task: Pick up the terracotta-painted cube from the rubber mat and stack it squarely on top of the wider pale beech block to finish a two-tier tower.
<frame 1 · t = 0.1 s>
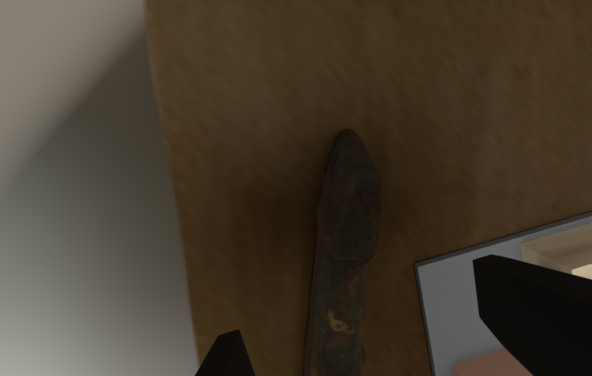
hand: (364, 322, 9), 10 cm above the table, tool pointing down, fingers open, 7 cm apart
beech block: (564, 271, 22), resting on rubber mat
hand tool: (320, 277, 21), on the table
rubber mat: (520, 316, 23), on the table
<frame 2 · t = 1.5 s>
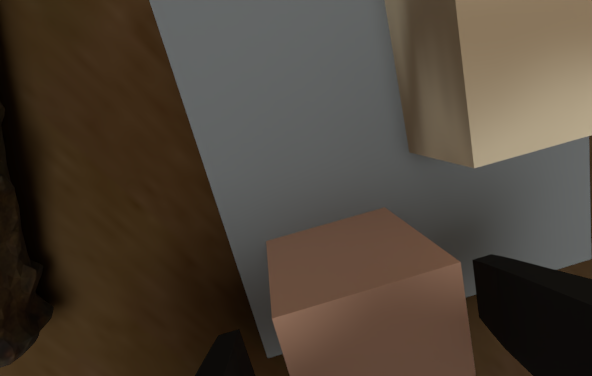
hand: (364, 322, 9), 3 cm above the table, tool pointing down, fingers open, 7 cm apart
beech block: (478, 43, 11), resting on rubber mat
terracotta cube: (339, 277, 12), resting on rubber mat
rubber mat: (403, 150, 12), on the table
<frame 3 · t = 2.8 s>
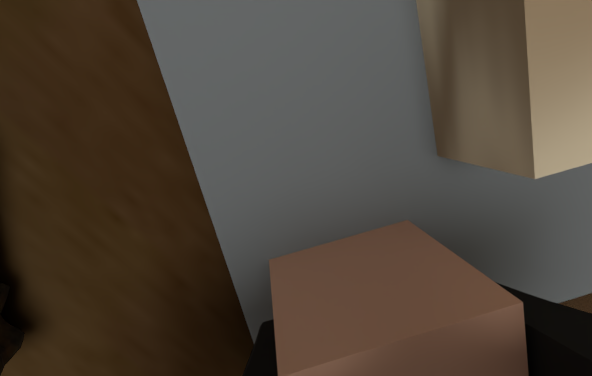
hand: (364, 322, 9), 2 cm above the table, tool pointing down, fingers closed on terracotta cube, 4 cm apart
beech block: (522, 26, 9), resting on rubber mat
terracotta cube: (353, 301, 10), resting on rubber mat, touching gripper
rubber mat: (428, 153, 10), on the table
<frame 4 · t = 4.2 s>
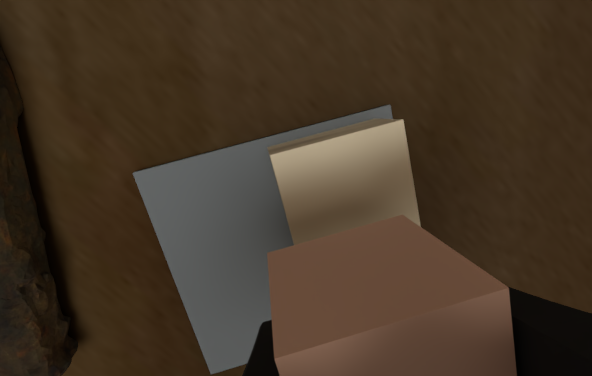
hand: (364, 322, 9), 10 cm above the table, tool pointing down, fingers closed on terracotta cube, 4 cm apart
beech block: (333, 185, 18), resting on rubber mat
hand tool: (10, 189, 17), on the table
terracotta cube: (349, 294, 11), point 8 cm above the table, touching gripper
rubber mat: (293, 244, 19), on the table
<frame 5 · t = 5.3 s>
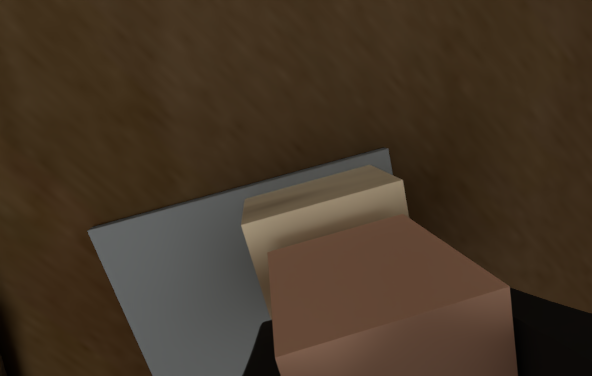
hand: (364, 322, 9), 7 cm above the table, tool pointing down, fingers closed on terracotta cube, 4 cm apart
beech block: (322, 239, 15), resting on rubber mat
terracotta cube: (350, 293, 11), point 5 cm above the table, touching gripper
rubber mat: (278, 303, 17), on the table
when the fingers open (7 cm above the table, at t = 5.8 s): terracotta cube drops 1 cm, resting on beech block.
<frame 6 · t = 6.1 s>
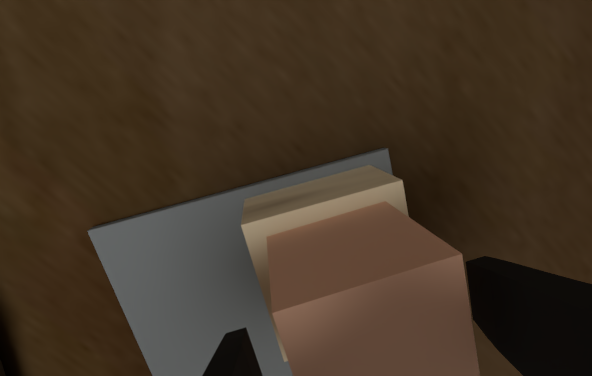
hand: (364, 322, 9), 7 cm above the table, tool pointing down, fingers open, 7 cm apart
beech block: (322, 239, 15), resting on rubber mat, touching terracotta cube
terracotta cube: (340, 272, 12), point 4 cm above the table, touching beech block
rubber mat: (277, 303, 17), on the table
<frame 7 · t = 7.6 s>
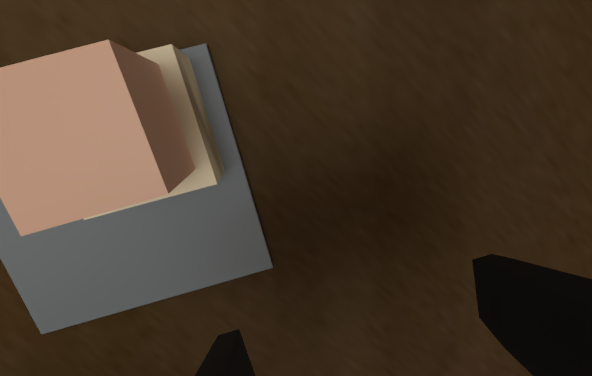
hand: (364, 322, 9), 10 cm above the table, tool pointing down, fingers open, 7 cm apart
beech block: (152, 131, 17), resting on rubber mat, touching terracotta cube
terracotta cube: (125, 133, 13), point 4 cm above the table, touching beech block
rubber mat: (121, 196, 18), on the table
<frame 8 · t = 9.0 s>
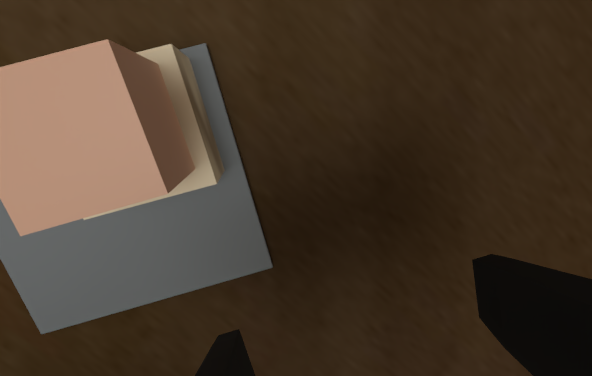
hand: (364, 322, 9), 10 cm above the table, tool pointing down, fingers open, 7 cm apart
beech block: (152, 131, 17), resting on rubber mat, touching terracotta cube
terracotta cube: (125, 133, 13), point 4 cm above the table, touching beech block
rubber mat: (121, 196, 18), on the table
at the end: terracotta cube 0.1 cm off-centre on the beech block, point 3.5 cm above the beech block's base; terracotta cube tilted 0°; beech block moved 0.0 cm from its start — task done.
